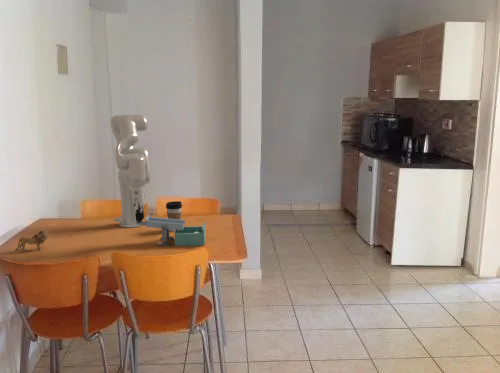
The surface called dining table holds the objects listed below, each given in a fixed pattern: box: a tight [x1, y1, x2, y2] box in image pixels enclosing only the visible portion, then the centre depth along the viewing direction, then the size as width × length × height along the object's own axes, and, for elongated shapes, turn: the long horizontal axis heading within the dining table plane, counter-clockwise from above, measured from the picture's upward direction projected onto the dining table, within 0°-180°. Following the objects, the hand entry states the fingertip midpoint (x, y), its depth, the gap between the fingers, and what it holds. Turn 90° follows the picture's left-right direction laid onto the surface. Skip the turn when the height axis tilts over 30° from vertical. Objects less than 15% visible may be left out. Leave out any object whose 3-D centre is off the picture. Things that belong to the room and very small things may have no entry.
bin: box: [173, 222, 207, 247], centre depth 232 cm, size 14×12×8 cm
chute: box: [135, 208, 186, 230], centre depth 229 cm, size 23×7×8 cm, turn 92°
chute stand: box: [157, 226, 175, 247], centre depth 231 cm, size 6×12×10 cm, turn 2°
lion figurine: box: [14, 229, 49, 253], centre depth 221 cm, size 15×5×9 cm, turn 110°
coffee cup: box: [165, 200, 183, 232], centre depth 250 cm, size 8×8×15 cm
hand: (139, 219), depth 229 cm, fingers closed on chute, 2 cm apart
